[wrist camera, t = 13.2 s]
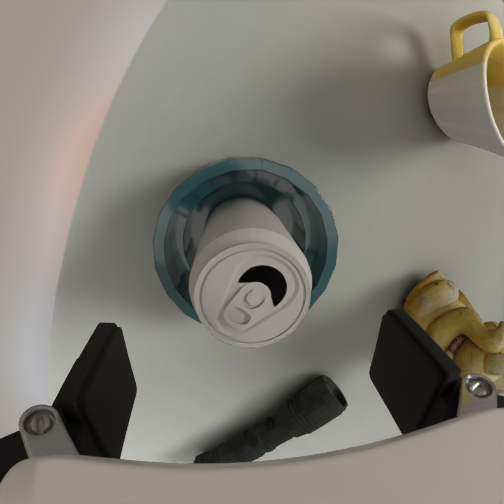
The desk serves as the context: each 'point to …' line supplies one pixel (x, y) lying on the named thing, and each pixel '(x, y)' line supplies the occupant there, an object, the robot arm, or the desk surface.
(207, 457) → the flashlight
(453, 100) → the mug
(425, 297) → the decorative figurine
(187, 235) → the bowl
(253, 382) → the desk surface
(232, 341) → the beverage can
